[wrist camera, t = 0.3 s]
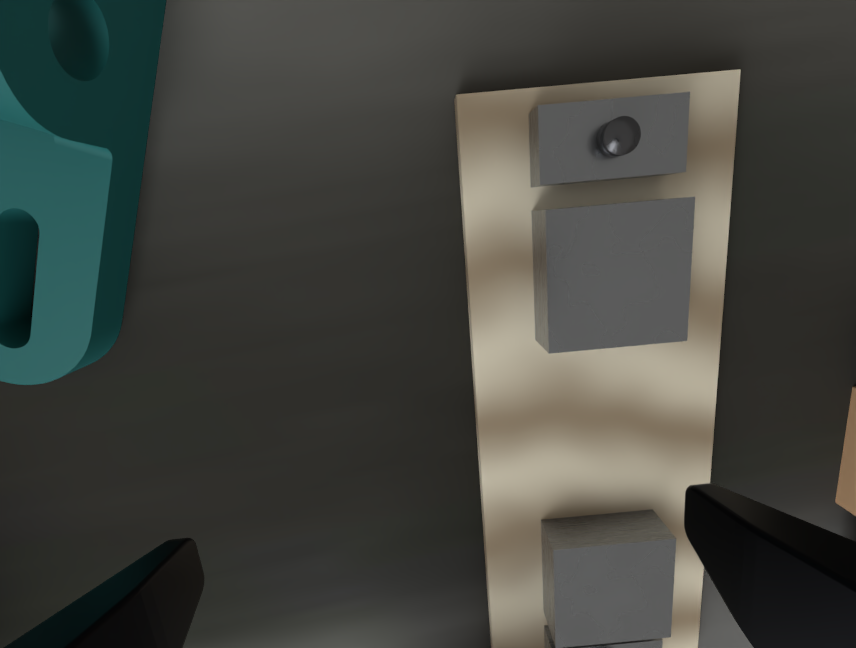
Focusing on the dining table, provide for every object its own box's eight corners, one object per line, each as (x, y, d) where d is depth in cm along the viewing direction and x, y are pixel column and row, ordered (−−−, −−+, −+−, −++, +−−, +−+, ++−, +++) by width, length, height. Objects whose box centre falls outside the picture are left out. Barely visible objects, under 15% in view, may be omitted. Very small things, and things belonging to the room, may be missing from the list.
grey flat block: (659, 328, 21) (688, 341, 19) (535, 339, 21) (549, 354, 19) (668, 101, 19) (703, 85, 16) (528, 113, 19) (543, 100, 16)
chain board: (686, 649, 27) (696, 665, 26) (492, 667, 27) (495, 684, 26) (724, 76, 19) (740, 69, 18) (454, 100, 19) (456, 94, 18)
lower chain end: (646, 656, 26) (668, 698, 24) (545, 666, 26) (557, 709, 24) (652, 509, 23) (677, 540, 21) (540, 519, 23) (553, 551, 21)
